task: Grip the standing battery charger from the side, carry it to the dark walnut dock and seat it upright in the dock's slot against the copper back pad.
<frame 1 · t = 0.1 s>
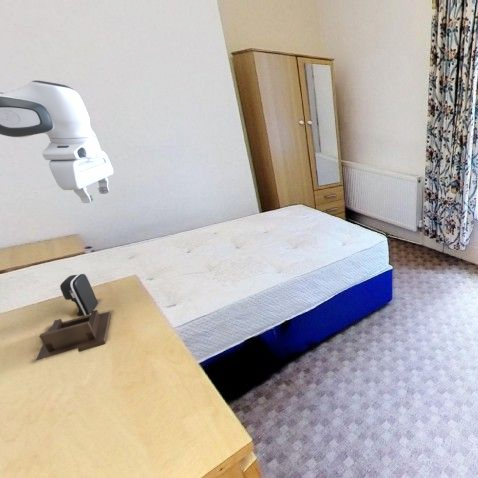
hand: (97, 197, 92), 33 cm above the table, tool pointing down, fingers open, 8 cm apart
dock: (78, 336, 86), on the table
battery charger: (86, 311, 96), on the table
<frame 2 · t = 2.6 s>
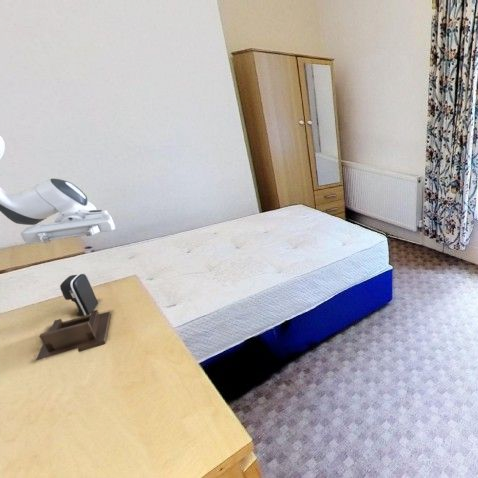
hand: (67, 236, 97), 20 cm above the table, tool horizontal, fingers open, 8 cm apart
nothing on the table moved.
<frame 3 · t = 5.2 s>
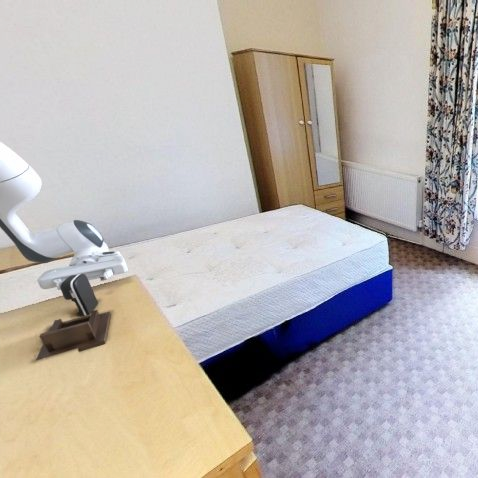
hand: (82, 282, 99), 6 cm above the table, tool horizontal, fingers open, 8 cm apart
nothing on the table moved.
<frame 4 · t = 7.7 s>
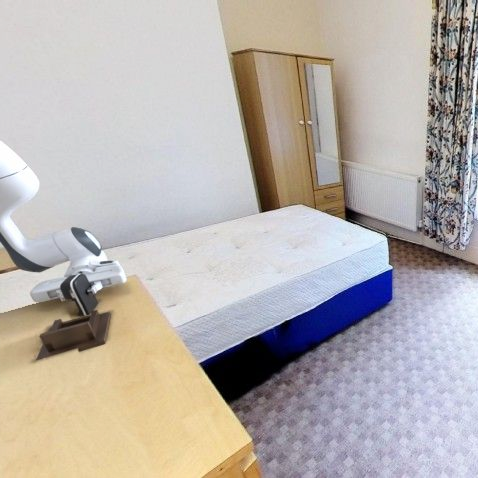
hand: (78, 295, 93), 6 cm above the table, tool horizontal, fingers closed on battery charger, 4 cm apart
battery charger: (86, 311, 96), on the table, touching gripper
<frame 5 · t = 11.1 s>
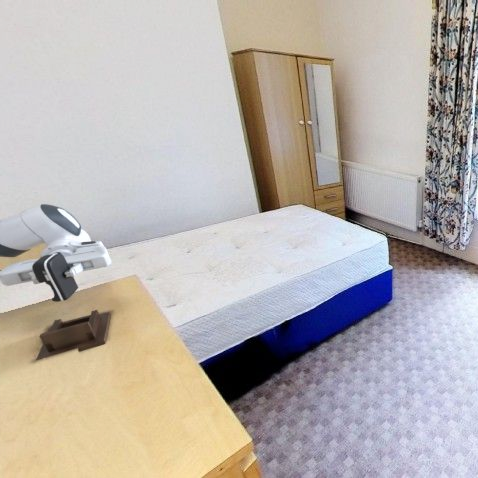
hand: (53, 277, 81), 17 cm above the table, tool horizontal, fingers closed on battery charger, 4 cm apart
battery charger: (64, 296, 84), point 11 cm above the table, touching gripper
when the fingers open (7 cm above the table, at t = 14.6 s): battery charger stays where it is, resting on dock.
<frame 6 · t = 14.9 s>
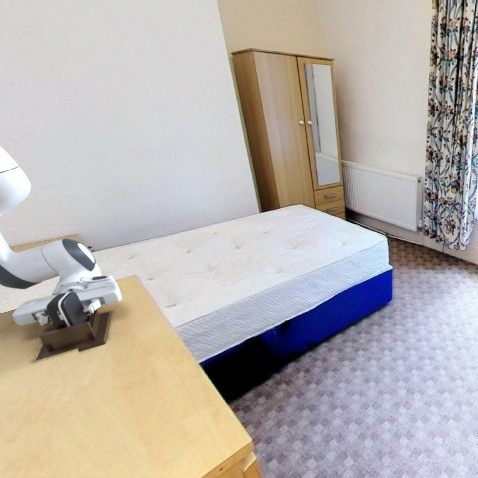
hand: (66, 317, 82), 7 cm above the table, tool horizontal, fingers open, 6 cm apart
battery charger: (77, 333, 85), point 1 cm above the table, touching dock
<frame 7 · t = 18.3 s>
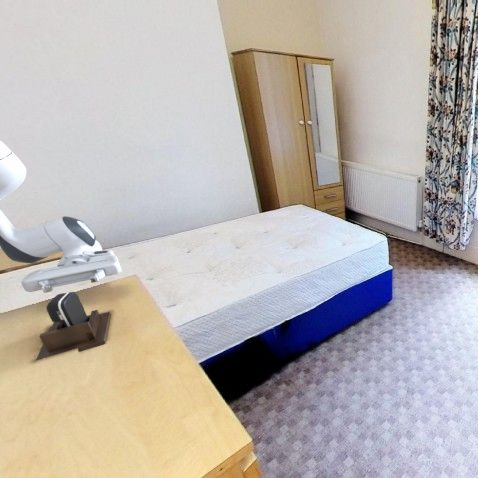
hand: (71, 284, 90), 10 cm above the table, tool horizontal, fingers open, 8 cm apart
nothing on the table moved.
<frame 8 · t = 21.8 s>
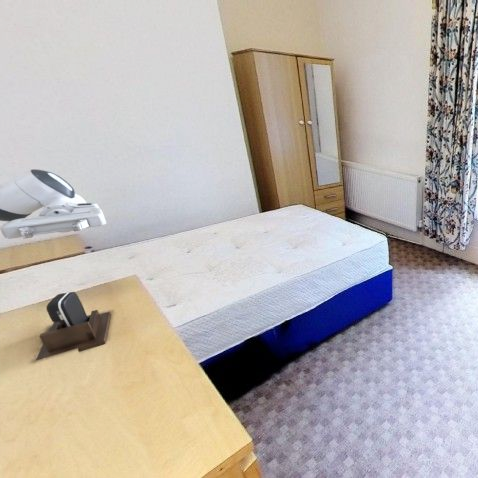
hand: (52, 231, 87), 25 cm above the table, tool horizontal, fingers open, 8 cm apart
nothing on the table moved.
at the end: battery charger 0.1 cm off-centre on the dock, point 1.0 cm above the dock's base; battery charger tilted 0°; the gripper is holding nothing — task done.
